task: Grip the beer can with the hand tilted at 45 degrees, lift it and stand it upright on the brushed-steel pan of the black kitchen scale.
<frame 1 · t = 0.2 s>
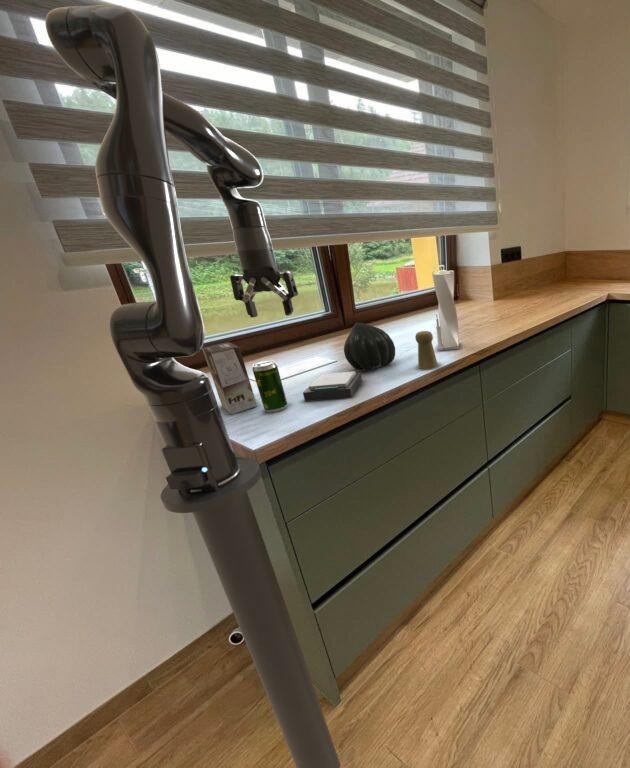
hand: (271, 315, 106), 22 cm above the worktop, tool pointing down, fingers open, 8 cm apart
scale: (335, 390, 117), on the worktop
beer can: (276, 409, 108), on the worktop
skyscraper: (450, 347, 151), on the worktop
squash: (372, 367, 135), on the worktop
cork: (428, 366, 132), on the worktop
coffee box: (239, 406, 111), on the worktop
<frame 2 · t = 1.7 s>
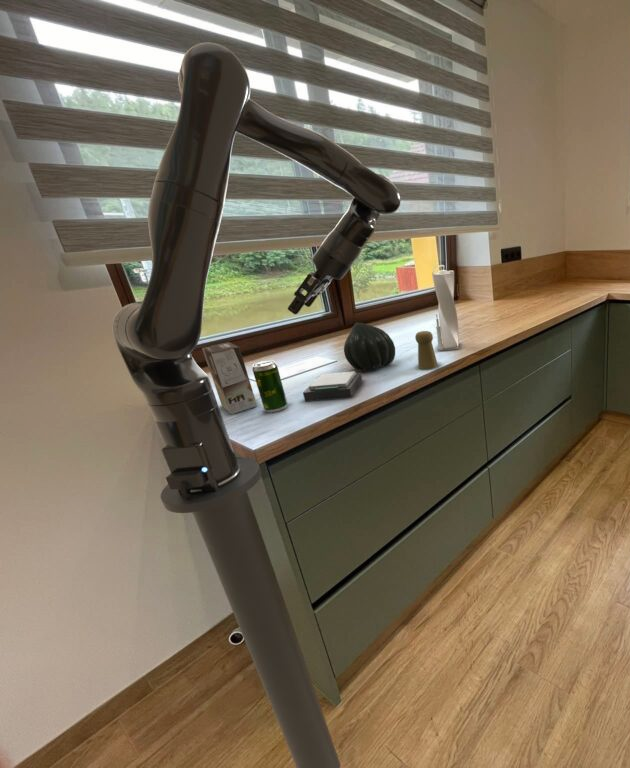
hand: (298, 308, 100), 25 cm above the worktop, tool tilted 45°, fingers open, 8 cm apart
nothing on the worktop moved.
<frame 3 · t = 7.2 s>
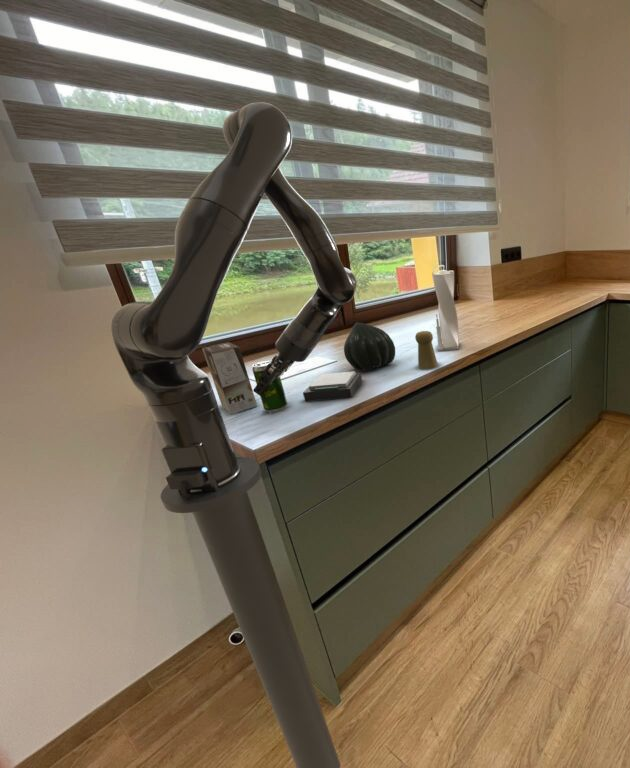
hand: (263, 388, 106), 6 cm above the worktop, tool tilted 45°, fingers closed on beer can, 5 cm apart
beer can: (276, 409, 108), on the worktop, touching gripper
everything else where it was.
when the fingers open (9 cm above the worktop, at t = 14.5 s): beer can stays where it is, resting on scale.
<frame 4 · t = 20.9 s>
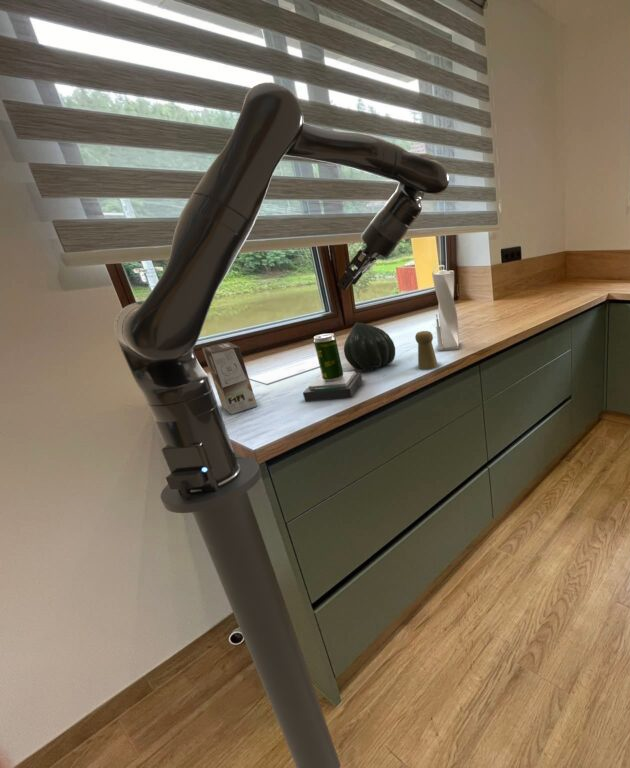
hand: (345, 284, 103), 29 cm above the worktop, tool tilted 45°, fingers open, 8 cm apart
beer can: (333, 379, 116), point 3 cm above the worktop, touching scale
everything else where it was.
at the end: beer can inside the target area on the scale (0.2 cm from its centre), point 3.3 cm above the scale's base; beer can tilted 0°; the gripper is holding nothing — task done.
